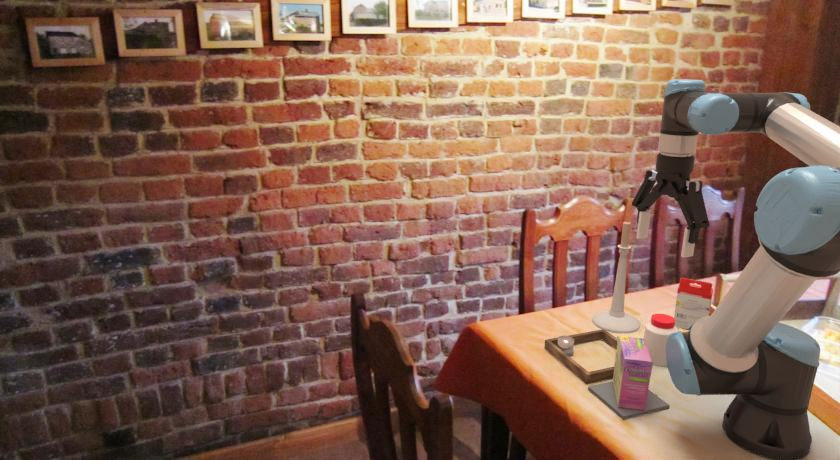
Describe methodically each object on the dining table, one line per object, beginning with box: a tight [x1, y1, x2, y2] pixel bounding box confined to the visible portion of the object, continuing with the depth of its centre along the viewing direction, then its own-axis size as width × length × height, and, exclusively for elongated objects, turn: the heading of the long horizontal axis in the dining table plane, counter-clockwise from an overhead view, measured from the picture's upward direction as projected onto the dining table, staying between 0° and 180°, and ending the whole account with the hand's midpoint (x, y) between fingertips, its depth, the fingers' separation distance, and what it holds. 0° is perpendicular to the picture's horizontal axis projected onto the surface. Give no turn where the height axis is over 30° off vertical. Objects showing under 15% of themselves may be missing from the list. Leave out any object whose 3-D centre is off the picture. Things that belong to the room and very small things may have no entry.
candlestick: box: [591, 221, 641, 334], centre depth 159 cm, size 13×13×30 cm
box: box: [612, 335, 653, 411], centre depth 125 cm, size 10×6×12 cm, turn 168°
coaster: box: [587, 380, 670, 421], centre depth 127 cm, size 12×12×1 cm
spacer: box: [557, 335, 575, 358], centre depth 146 cm, size 4×4×4 cm
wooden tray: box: [544, 328, 618, 385], centre depth 143 cm, size 18×18×2 cm
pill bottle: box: [643, 313, 680, 367], centre depth 142 cm, size 8×8×11 cm
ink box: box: [673, 277, 714, 331], centre depth 159 cm, size 8×5×15 cm, turn 58°
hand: (663, 247), depth 130 cm, fingers open, 13 cm apart
